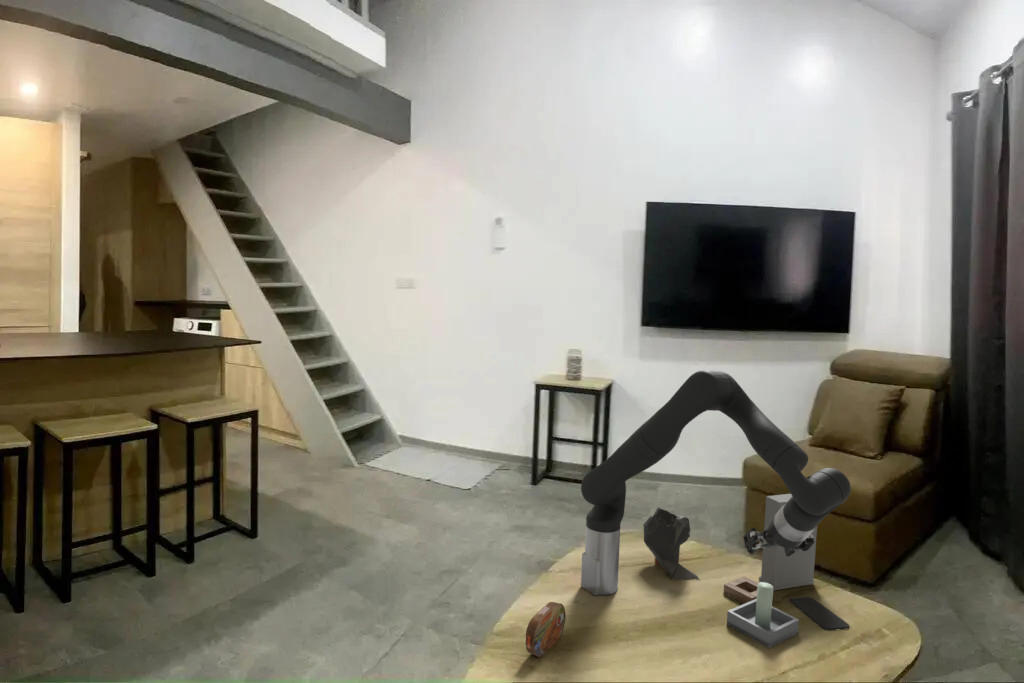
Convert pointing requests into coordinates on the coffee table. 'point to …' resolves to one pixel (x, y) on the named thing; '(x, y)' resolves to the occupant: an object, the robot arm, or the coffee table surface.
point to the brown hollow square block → (741, 589)
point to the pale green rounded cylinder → (764, 605)
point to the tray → (745, 623)
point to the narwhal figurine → (668, 541)
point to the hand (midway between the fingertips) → (768, 551)
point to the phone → (818, 613)
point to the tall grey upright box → (776, 563)
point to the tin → (545, 628)
